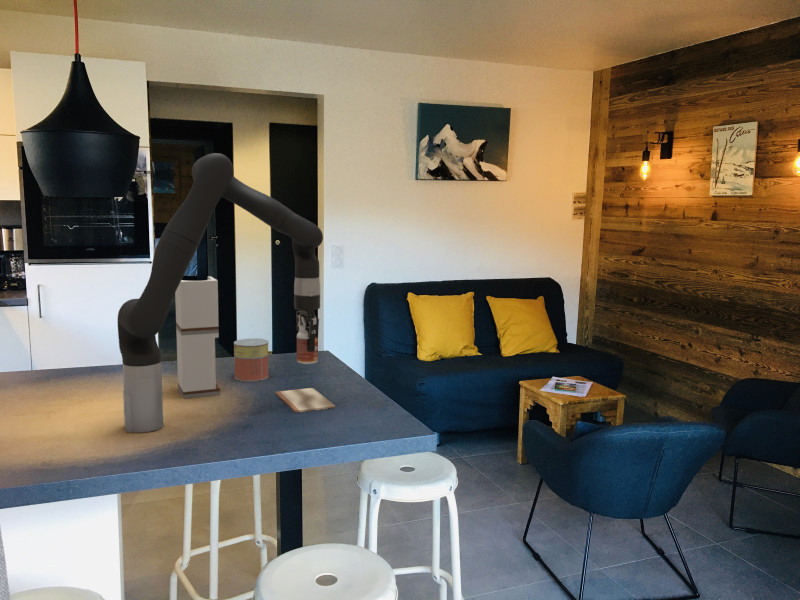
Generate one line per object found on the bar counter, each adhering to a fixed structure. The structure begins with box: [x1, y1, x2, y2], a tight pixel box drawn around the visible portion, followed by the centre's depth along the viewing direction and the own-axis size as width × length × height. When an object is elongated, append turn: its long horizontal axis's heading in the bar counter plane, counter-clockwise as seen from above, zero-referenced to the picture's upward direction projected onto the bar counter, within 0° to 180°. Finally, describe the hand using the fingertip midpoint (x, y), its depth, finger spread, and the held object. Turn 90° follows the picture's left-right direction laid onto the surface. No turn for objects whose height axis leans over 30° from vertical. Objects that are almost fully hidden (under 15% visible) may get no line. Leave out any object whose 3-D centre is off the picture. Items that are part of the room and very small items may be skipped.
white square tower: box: [174, 275, 221, 400], centre depth 197 cm, size 11×11×35 cm
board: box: [274, 387, 336, 414], centre depth 193 cm, size 12×20×1 cm, turn 26°
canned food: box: [233, 338, 270, 382], centre depth 217 cm, size 11×11×12 cm
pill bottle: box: [296, 324, 319, 365], centre depth 191 cm, size 6×6×11 cm
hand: (307, 348), depth 191 cm, fingers closed on pill bottle, 6 cm apart
